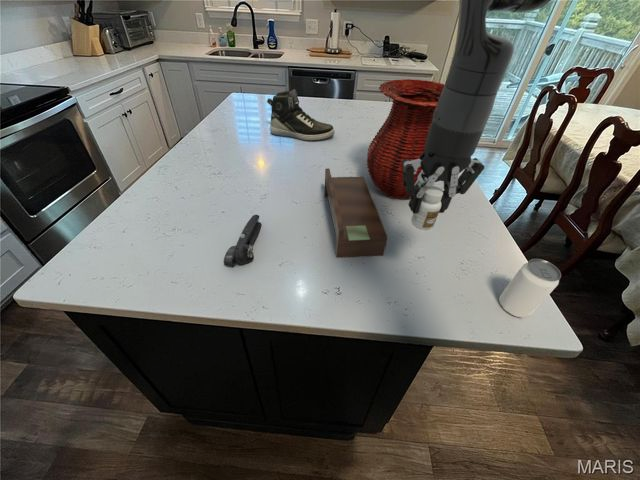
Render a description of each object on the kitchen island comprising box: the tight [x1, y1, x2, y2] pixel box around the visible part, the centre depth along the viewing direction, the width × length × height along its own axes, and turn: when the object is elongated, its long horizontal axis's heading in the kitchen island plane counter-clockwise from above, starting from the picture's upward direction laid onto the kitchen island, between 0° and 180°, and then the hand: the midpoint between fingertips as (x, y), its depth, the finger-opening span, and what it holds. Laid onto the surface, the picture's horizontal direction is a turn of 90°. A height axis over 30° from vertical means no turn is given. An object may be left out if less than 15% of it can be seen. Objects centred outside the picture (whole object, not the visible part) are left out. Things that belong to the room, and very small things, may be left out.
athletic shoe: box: [266, 89, 335, 142], centre depth 120 cm, size 10×28×18 cm, turn 79°
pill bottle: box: [410, 185, 444, 231], centre depth 55 cm, size 4×4×8 cm
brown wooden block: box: [323, 168, 388, 259], centre depth 81 cm, size 28×12×9 cm, turn 6°
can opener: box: [223, 214, 262, 267], centre depth 74 cm, size 18×7×6 cm, turn 171°
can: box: [498, 258, 562, 318], centre depth 60 cm, size 6×6×12 cm
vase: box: [366, 78, 445, 199], centre depth 88 cm, size 23×24×30 cm
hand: (426, 210), depth 56 cm, fingers closed on pill bottle, 4 cm apart
